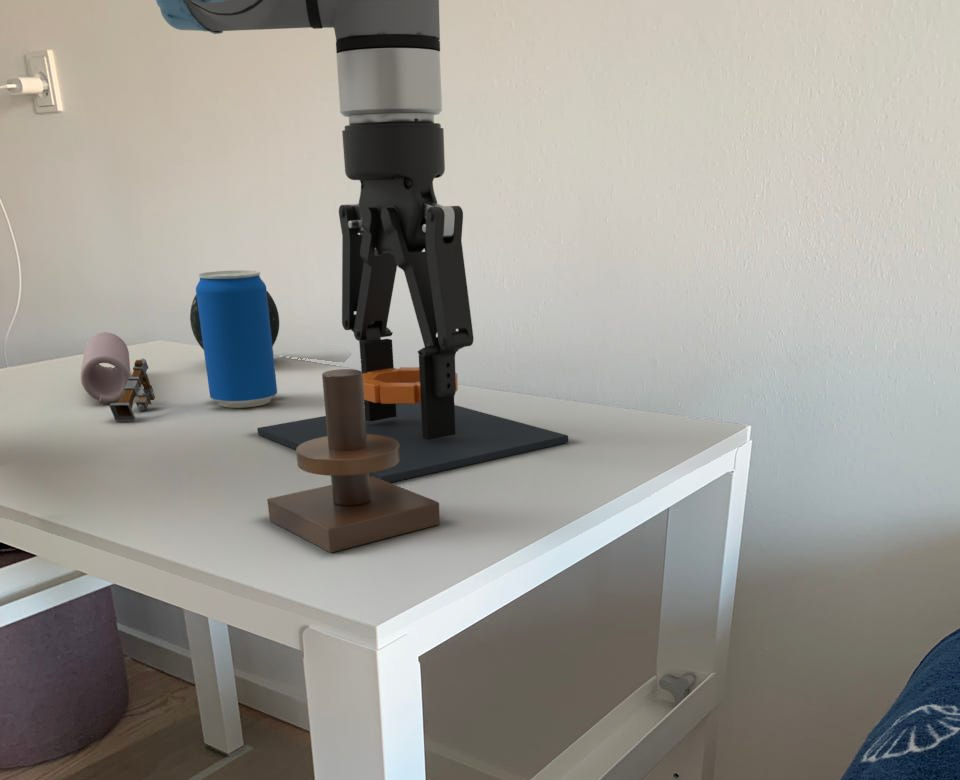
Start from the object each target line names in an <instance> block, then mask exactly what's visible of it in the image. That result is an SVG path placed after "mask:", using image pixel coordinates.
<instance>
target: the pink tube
mask: <svg viewBox="0 0 960 780" xmlns="http://www.w3.org/2000/svg"><path fill="white" fill-rule="evenodd" d="M130 361H131V360H130V351H129V348H128V346H127V344H126V343H125V341H124V340H123V339H122V338H121V337H120V336H118V335H117V334H114V333H112V332H108V331H107V332H106V331H101V332H97V333H95V334H93V335H92V336H91V337H89V339H88V340H87V341H86V344H85V347H84V351H83V359H82V363H81V369H80V382H81V386H82V387H83V390H84V391H85V392H86V393H87V394H88V395H89V396H90V397H91V398H93V399H95V400H97V401H99V404H104V405H111V403H118V402H119V400H120V399H121V397H122V396H123V394H124V392H125V389H124V388H125V387H126V384H127V381H128V378H129V377H131V376H132V374H131V363H130ZM101 364H108V365H112V366H114V367H112V366H103V365H101Z"/></svg>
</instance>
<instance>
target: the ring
mask: <svg viewBox="0 0 960 780" xmlns="http://www.w3.org/2000/svg"><path fill="white" fill-rule="evenodd" d="M455 375H456V376H455V377H456V381H455V382H456V391H455V394H456V393H457V392H458V390H459V385H458V381H459V380H458V373H457V372H456V371H455ZM362 378H363V392H364V400H367V401H370V402H374V403H379V402H381V404H415V403H416V402H418V403H421V393H420V373H419V366H417V367H414V366H413V367H412V366H411V367H410V366H407V367H405V366H404V367H403V366H402V367H401V366H400V367H399V368H396V367H394V368H390V369H383V370H377V371H370V372H367V373H363V374H362Z"/></svg>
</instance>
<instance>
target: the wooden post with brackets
mask: <svg viewBox="0 0 960 780" xmlns="http://www.w3.org/2000/svg"><path fill="white" fill-rule="evenodd" d="M133 364H134V366H133V367H132V371H133V372H132V374H131V377H129V378H128V381H127V384H126V387H125V388H124V389H125V392H124V394H123V396H122V397H121V399H120V400H119V401H118V402H116V403H111V404H108V405H109V408H110V411H111V413H112V416H113V418H114V421H115V422H135V419H136V417H135V413H134V412H133V411H134V410H133V405H134V401H135V398H138V399H137V401H135V404H136V407H137V410H138V411H139V412H143V411H148V410H149V409H148V407H149V405H152V401H155V399H156V395H155V392H154V387H153V385H151V381H150V379H149V376H148V374H147V371H148V369H149V365H148V362H147V359H145V358H140V359H135V362H134V363H133ZM142 387H143V388H142ZM141 388H142V390H143V393H142V394H139V392H140V390H141Z"/></svg>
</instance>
